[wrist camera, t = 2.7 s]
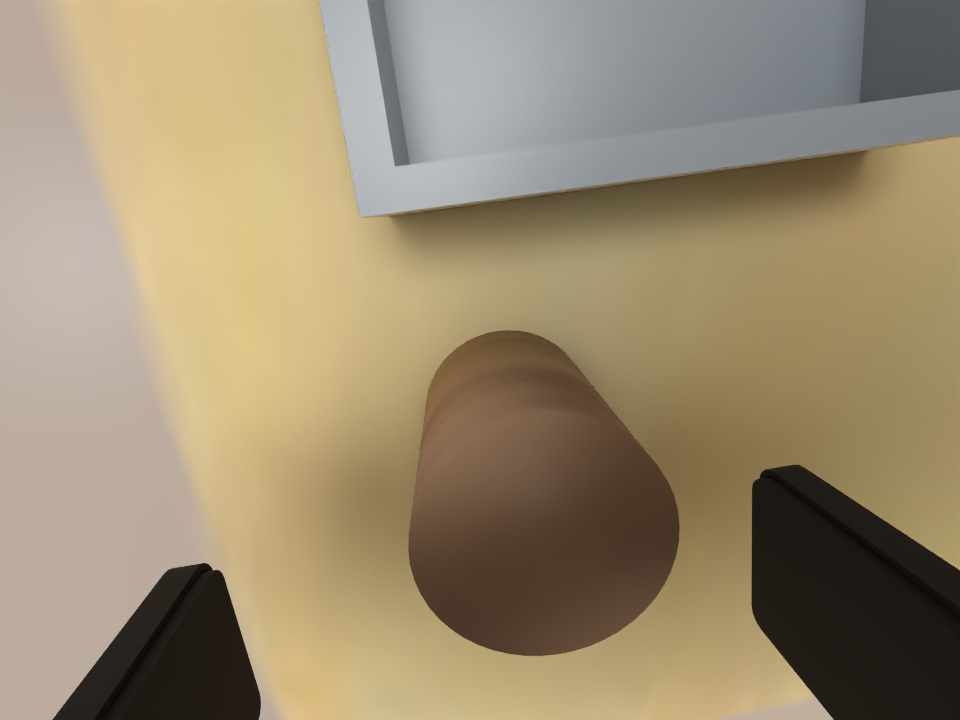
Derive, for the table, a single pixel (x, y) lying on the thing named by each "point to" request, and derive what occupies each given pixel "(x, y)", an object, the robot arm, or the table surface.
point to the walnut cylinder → (534, 503)
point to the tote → (625, 90)
